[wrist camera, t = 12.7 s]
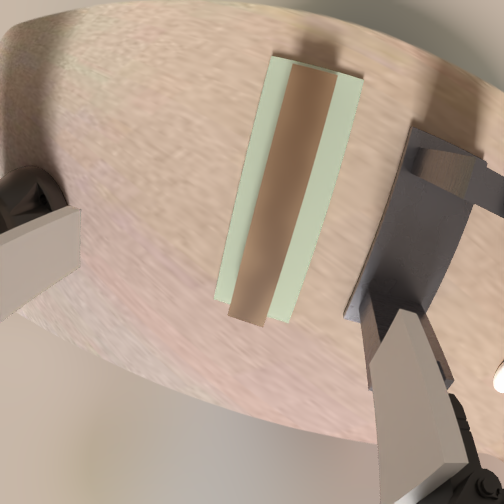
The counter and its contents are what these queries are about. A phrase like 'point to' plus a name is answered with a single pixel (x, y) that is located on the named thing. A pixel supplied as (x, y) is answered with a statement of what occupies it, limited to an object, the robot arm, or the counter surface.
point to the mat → (316, 191)
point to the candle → (499, 379)
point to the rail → (282, 190)
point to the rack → (420, 237)
